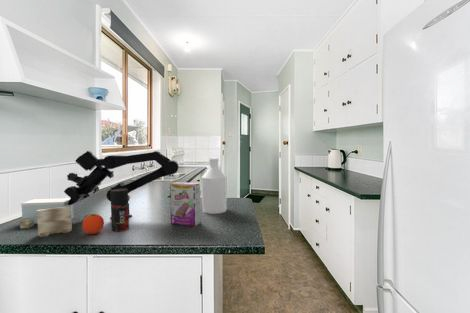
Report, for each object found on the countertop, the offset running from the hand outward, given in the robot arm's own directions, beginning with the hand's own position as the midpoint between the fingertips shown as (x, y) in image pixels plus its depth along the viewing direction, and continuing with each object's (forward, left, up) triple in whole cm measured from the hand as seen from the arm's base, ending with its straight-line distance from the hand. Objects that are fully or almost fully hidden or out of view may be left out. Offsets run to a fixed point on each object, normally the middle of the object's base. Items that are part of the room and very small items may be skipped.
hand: (69, 204), depth 107 cm
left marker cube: (+7, +12, -7) cm, 16 cm away
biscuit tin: (+7, +4, -7) cm, 11 cm away
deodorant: (-30, 0, -7) cm, 31 cm away
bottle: (-50, -37, -7) cm, 63 cm away
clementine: (-24, +7, -7) cm, 26 cm away
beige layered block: (-11, +12, -7) cm, 17 cm away
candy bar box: (-49, -15, -7) cm, 52 cm away
